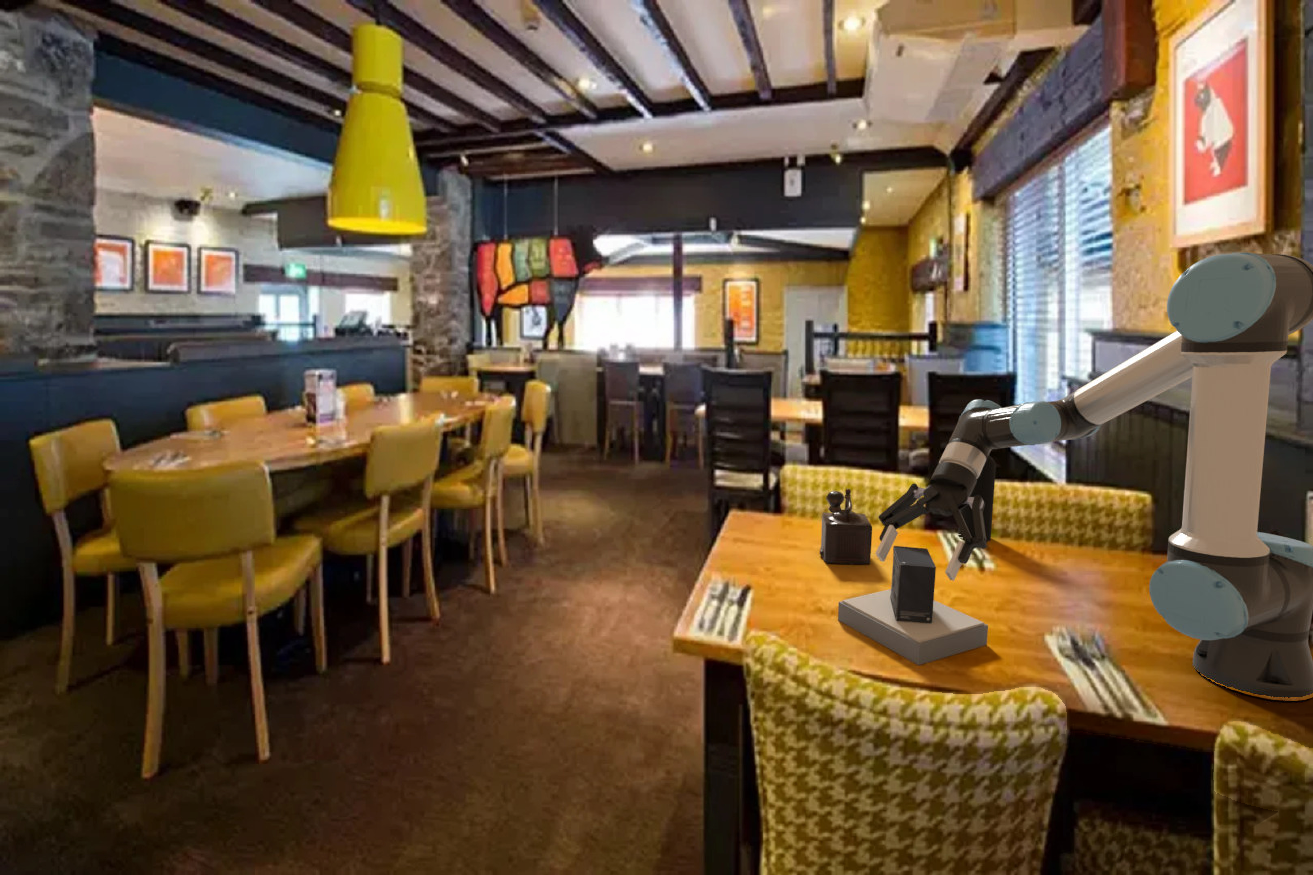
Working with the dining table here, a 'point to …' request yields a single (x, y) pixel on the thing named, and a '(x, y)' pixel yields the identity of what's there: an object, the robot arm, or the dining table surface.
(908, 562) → the small box
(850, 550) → the pepper mill
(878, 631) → the stand
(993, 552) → the dining table surface
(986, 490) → the wine bottle
